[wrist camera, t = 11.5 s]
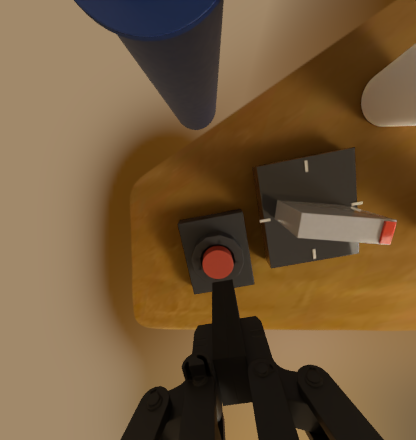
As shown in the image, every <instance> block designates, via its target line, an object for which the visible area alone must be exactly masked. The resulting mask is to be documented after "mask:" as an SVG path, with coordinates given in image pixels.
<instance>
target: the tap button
mask: <svg viewBox="0 0 416 440" xmlns="http://www.w3.org/2000/svg"><path fill="white" fill-rule="evenodd" d="M178 228H179V232H180V236H181V240H182V245H183V249H184V253H185V257H186V261H187V266H188V270H189V274H190V278H191V283H192V287H193V291H194V294H200V293H206V292H212V283H213V282H219V281H225V280H231V279H233V285H234V288H236V287H242V286H248V285H254V278H253V272H252V266H251V260H250V254H249V247H248V241H247V235H246V229H245V223H244V217H243V212H242V210H241V209H237V210H232V211H227V212H221V213H216V214H211V215H206V216H200V217H195V218H190V219H184V220H180V221H179V223H178ZM212 246H223V247H225V248H227V249H228V250H229V251H230V253H231V255H232V258H233V263H234V266H233V270H232V272H231V273H230V274H229V275H228V276H226V277H225V278H222V279H214V278H211V277H209V276H208V275H207V274H206V273H205V272H204V270H203V267H202V261H203V255H204V253H205V251H206V250H207V249H209V248H210V247H212Z"/></svg>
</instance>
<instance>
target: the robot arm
mask: <svg viewBox="0 0 416 440" xmlns="http://www.w3.org/2000/svg"><path fill="white" fill-rule="evenodd" d="M182 370H183V373H184V377H185V381H184V382H183V383H182V384H181V385H179V386H178V387H176V388H174V389H172V390H169V391H167V389H166V388H164V387H161V386H159V387H154V388H152V389H150V390H149V391H148V392H147V393H146V394H145V395H144V396H143V398H142V399H141V401H140V403H139V405H138V407H137V409H136V410H135V413H134V414H133V417H132V418H131V420H130V422H129V424H128V426H127V428H126V430H125V432H124V434H123V436H122V438H121V440H225V426H224V416H223V412H222V403H223V406H226V405H233V404H241V403H249V402H253V408H254V414H255V421H256V427H257V433H258V438H259V440H299V437H298V434H297V431H296V428H298V429H302V430H305V432H306V434H307V436H308V437H309V439H310V440H384V439H383V438H382V437H381V436H380V435H379V434H378V432H377V431H376V430H375V429H374V428H373V427H372V425H371V424H370V423H369V422H368V421H367V419H366V418H365V417H364V416H363V415H362V413H361V412H360V411H359V410H358V409H357V407H356V406H355V405H354V404H353V403H352V402H351V400H350V399H349V398H348V397H347V396H346V394H345V393H344V392H343V391H342V390H341V389H340V388H339V386H338V385H337V384H336V383H335V382H334V380H333V379H332V378H331V377H330V376H329V374H328V373H327V372H325V371H324V370H323V369H322V368H320V367H318V366H314V365H306V366H303V367H301V368H300V369H299V370H298V372H294V371H289V370H285V369H283V368H281V367H279V366H278V365H277V364H276V363H275V362H274V360H273V358H272V355H271V352H270V349H269V345H268V342H267V339H266V336H265V332H264V329H263V326H262V323H261V321H260V320H259V319H258V318H257V317H256V316H253V317H247V318H240V317H239V311H238V306H237V300H236V295H235V290H234V285H233V279H231V280H225V281H219V282H213V283H212V324H205V325H199V326H198V327H197V329H196V331H195V333H194V341H193V351H192V354H191V355H190V356H188V357H187V358H186V359H185V361H184V362H183V365H182Z"/></svg>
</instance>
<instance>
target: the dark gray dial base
mask: <svg viewBox="0 0 416 440" xmlns="http://www.w3.org/2000/svg"><path fill="white" fill-rule="evenodd" d="M252 168H253V175H254V181H255V188H256V195H257V202H258V209H259V216H260V223H261V229H262V236H263V243H264V250H265V257H266V260H267V262H268V264H269V266H270V267H271V268H276V267H282V266H288V265H293V264H299V263H305V262H311V261H317V260H323V259H328V258H334V257H340V256H346V255H352V254H358V253H359V243H358V242H345V241H332V240H319V239H306V238H297V237H296V236H295V235H293V234H292V233H291V232H290V231H289V230H287V229H286V228H285V227H284V226H283V225H282V224H280V223H279V222H278V221H277V220H276V219H275V212H276V206H277V200H284V201H297V202H310V203H323V204H336V205H347V206H351V207H354V208H357V205H360V204H363V201H360V202H357V190H356V165H355V147H353V148H345V149H339V150H334V151H329V152H324V153H319V154H314V155H309V156H304V157H299V158H294V159H289V160H284V161H279V162H274V163H269V164H264V165H259V166H254V167H252Z"/></svg>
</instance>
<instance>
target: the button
mask: <svg viewBox="0 0 416 440" xmlns="http://www.w3.org/2000/svg"><path fill="white" fill-rule="evenodd" d="M233 266H234V263H233V258H232V255H231V253H230V251H229V250H228V249H227V248H225V247H223V246H212V247H210V248H209V249H207V250H206V251H205V253H204V255H203V261H202V267H203V270H204V272H205V273H206V274H207V275H208V276H209V277H211V278H214V279H222V278H225V277H226V276H228V275H229V274H230V273H231V272H232V270H233Z"/></svg>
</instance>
